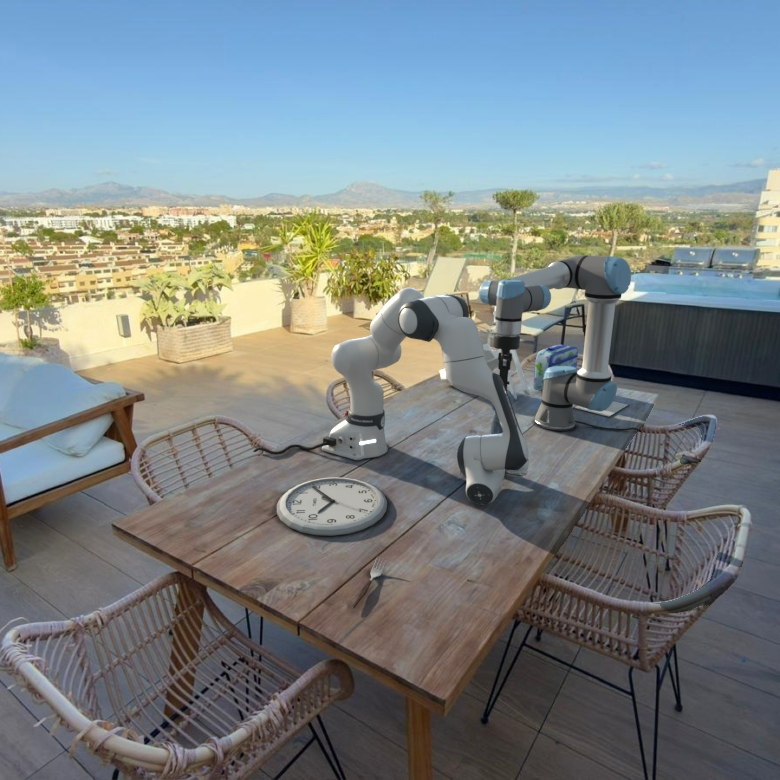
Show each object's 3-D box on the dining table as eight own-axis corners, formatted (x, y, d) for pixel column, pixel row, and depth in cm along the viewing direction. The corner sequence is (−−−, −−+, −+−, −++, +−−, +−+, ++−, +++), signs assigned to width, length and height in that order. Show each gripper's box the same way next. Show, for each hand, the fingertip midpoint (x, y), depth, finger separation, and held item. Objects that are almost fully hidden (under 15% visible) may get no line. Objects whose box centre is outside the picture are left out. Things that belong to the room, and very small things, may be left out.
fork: (347, 608, 104) (347, 600, 103) (376, 563, 118) (376, 555, 118) (359, 612, 103) (359, 603, 103) (387, 565, 118) (387, 558, 117)
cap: (495, 412, 156) (496, 406, 155) (490, 407, 161) (491, 400, 160) (510, 412, 157) (511, 405, 156) (505, 407, 161) (506, 400, 160)
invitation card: (608, 416, 214) (573, 407, 224) (608, 416, 214) (573, 408, 224) (628, 404, 229) (594, 396, 238) (628, 405, 229) (594, 397, 238)
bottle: (503, 468, 166) (509, 403, 160) (502, 475, 162) (508, 408, 155) (488, 466, 167) (493, 402, 161) (487, 473, 163) (492, 407, 156)
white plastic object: (461, 429, 252) (437, 405, 227) (444, 352, 274) (420, 323, 250) (535, 404, 240) (518, 377, 215) (510, 326, 262) (492, 293, 237)
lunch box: (550, 397, 237) (555, 352, 231) (529, 391, 245) (533, 348, 238) (577, 386, 255) (582, 344, 249) (556, 381, 262) (561, 340, 256)
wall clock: (392, 527, 129) (268, 531, 127) (391, 533, 130) (269, 537, 127) (383, 473, 158) (282, 475, 155) (383, 478, 158) (282, 480, 156)
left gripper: (527, 466, 147) (532, 447, 159) (456, 454, 153) (466, 437, 166) (525, 486, 149) (530, 466, 161) (455, 474, 155) (465, 456, 168)
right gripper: (495, 327, 162) (489, 398, 168) (492, 340, 143) (486, 418, 150) (520, 329, 160) (513, 400, 167) (520, 342, 142) (513, 421, 148)
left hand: (497, 451), depth 164 cm, fingers closed on bottle, 5 cm apart
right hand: (500, 408), depth 158 cm, fingers open, 7 cm apart
